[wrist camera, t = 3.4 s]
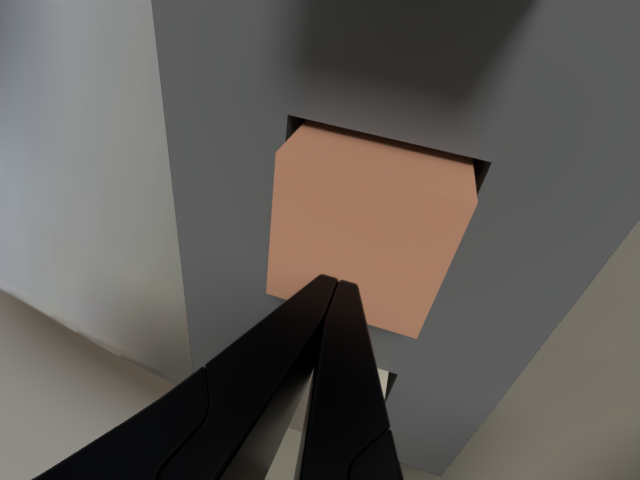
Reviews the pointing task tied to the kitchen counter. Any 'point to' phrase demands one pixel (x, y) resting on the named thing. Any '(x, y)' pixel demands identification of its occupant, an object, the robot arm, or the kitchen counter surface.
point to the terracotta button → (368, 219)
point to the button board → (421, 129)
